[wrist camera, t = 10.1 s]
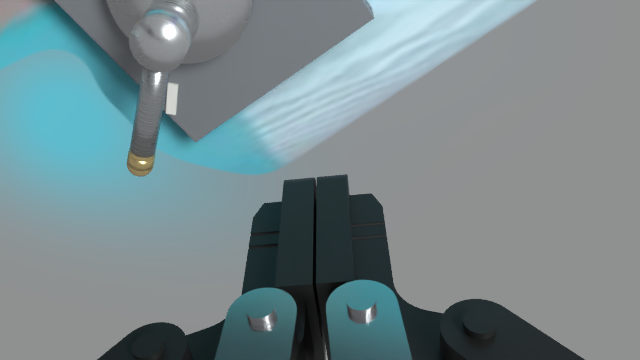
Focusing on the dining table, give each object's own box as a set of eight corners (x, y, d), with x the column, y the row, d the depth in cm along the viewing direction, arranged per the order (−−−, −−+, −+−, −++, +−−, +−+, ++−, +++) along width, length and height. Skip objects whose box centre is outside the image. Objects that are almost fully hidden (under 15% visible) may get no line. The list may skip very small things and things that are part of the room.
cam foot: (118, -108, 35) (86, -89, 30) (268, -59, 36) (260, -33, 31) (92, 122, 43) (64, 165, 38) (214, 153, 45) (201, 199, 40)
